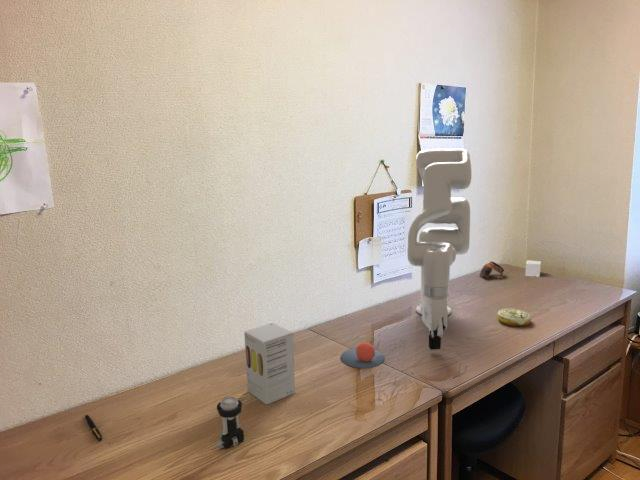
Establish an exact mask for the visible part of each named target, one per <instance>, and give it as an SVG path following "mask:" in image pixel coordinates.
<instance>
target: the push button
mask: <svg viewBox="0 0 640 480" xmlns="http://www.w3.org/2000/svg"><path fill="white" fill-rule="evenodd" d="M242 407H243V403H242V401H241V400H239V399H238V398H237V397H234V396H227V397H224V398H222V399H221V400H220V402H218V403H217V405H216V411H217V413H218V415H219V416H220V417H221V420H222V421H221V422H222V431H221V434H220V436H219V438H220V441H218V442H216V443H215V444H214V445H215V446H216V447H215V449H216V450H220V449H223V448H224V449H226V450H227V449H229V448H231V447H236V446H237V445H238V443H243V442H244V441H245V434H244V432H245V431H244V429H242V428H241V425H240V423H239V419H240V418H239V414H241V412H242Z"/></svg>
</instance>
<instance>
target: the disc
mask: <svg viewBox="0 0 640 480" xmlns="http://www.w3.org/2000/svg"><path fill="white" fill-rule="evenodd" d="M356 348H357V347H356ZM356 348H350V349H348V350H347V349H346V350H345V351H344V352H342V353H341V354H340V360H341V362H342V363H343V364H345V365H347V366H350V367H352V368H358V369H367V368H374V367H378V366H379V365H381V364H382V363H384V362H385V355H384V354H383V353H382V352H381V351H379V350H376V349H375V356H374V358H373V359H372V360H370V361H368V362H363V361H361V360H359V359H358V357H357V355H356Z"/></svg>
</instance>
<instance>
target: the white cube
mask: <svg viewBox="0 0 640 480" xmlns="http://www.w3.org/2000/svg"><path fill="white" fill-rule="evenodd" d="M525 262H526V263H525V275H524V276H526V277H534V276H536V278H539V277H541V265H542V261H541V260H539V261H538V260H531V259H530V260H529V259H527V260H526V261H525Z"/></svg>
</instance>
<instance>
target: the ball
mask: <svg viewBox="0 0 640 480" xmlns="http://www.w3.org/2000/svg"><path fill="white" fill-rule="evenodd" d="M375 350H376V348H375V347H374V345H373V344H371V342H367V341H363V342H360V343H359V344H358V345H357V346H356V355H357V357H358V359H359V360H361V361H363V362H368V361H370V360H372V359H373V358H374V356H375Z"/></svg>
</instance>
